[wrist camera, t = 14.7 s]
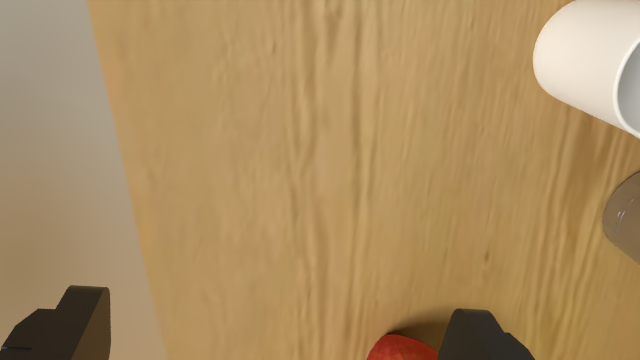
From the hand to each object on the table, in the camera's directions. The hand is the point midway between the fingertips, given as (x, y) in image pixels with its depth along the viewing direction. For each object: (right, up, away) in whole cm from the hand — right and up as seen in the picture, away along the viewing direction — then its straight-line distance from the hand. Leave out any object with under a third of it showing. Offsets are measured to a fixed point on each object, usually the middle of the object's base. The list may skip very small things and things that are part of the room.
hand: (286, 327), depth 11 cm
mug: (+23, +13, +28) cm, 39 cm away
